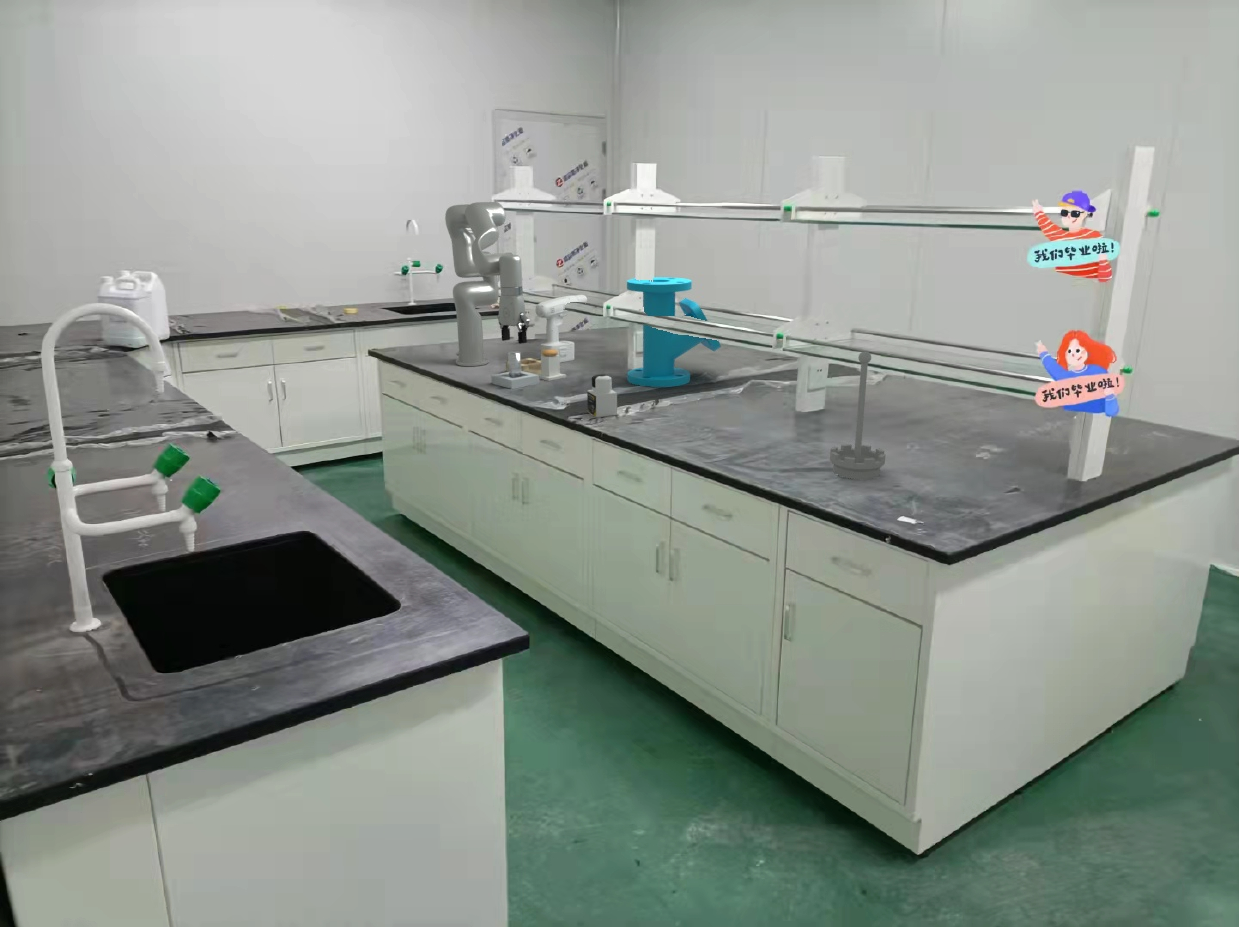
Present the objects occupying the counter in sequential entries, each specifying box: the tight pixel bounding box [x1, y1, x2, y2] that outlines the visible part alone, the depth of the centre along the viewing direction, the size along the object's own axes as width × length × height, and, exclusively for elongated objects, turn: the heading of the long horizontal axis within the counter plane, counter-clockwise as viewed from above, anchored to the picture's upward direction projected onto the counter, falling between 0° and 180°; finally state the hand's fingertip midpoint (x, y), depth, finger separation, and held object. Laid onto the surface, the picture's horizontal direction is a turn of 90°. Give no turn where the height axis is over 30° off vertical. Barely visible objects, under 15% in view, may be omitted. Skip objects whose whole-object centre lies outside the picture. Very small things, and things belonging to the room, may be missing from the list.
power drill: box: [535, 294, 588, 364], centre depth 352 cm, size 8×24×25 cm, turn 132°
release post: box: [537, 355, 567, 382], centre depth 324 cm, size 8×8×8 cm
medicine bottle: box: [586, 374, 618, 418], centre depth 273 cm, size 7×7×12 cm
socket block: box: [491, 371, 540, 390], centre depth 315 cm, size 12×12×3 cm
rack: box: [505, 357, 541, 375], centre depth 333 cm, size 11×11×4 cm
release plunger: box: [542, 349, 558, 357], centre depth 323 cm, size 6×6×8 cm
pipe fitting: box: [626, 276, 722, 388], centre depth 315 cm, size 22×32×35 cm
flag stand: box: [829, 350, 886, 481], centre depth 214 cm, size 13×13×30 cm
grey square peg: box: [507, 351, 522, 378], centre depth 314 cm, size 4×4×11 cm
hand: (514, 341), depth 311 cm, fingers open, 9 cm apart
